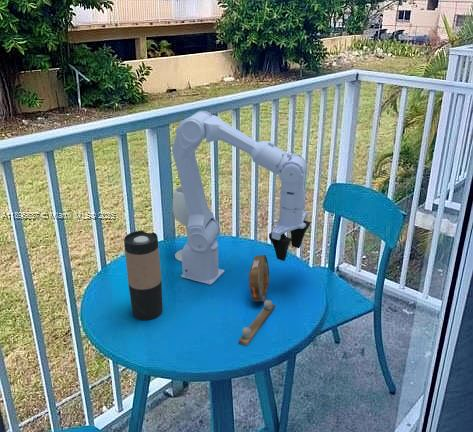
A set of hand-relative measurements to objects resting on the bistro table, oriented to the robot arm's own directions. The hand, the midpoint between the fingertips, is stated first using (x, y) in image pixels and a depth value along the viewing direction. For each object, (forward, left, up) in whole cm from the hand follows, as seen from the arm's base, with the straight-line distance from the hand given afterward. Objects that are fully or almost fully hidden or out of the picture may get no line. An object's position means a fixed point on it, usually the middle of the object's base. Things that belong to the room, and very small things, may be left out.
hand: (288, 252), depth 123 cm
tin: (-5, -7, -9) cm, 12 cm away
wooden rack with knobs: (0, -20, -9) cm, 22 cm away
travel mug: (-26, -27, -10) cm, 38 cm away
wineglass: (-32, +2, -10) cm, 33 cm away
